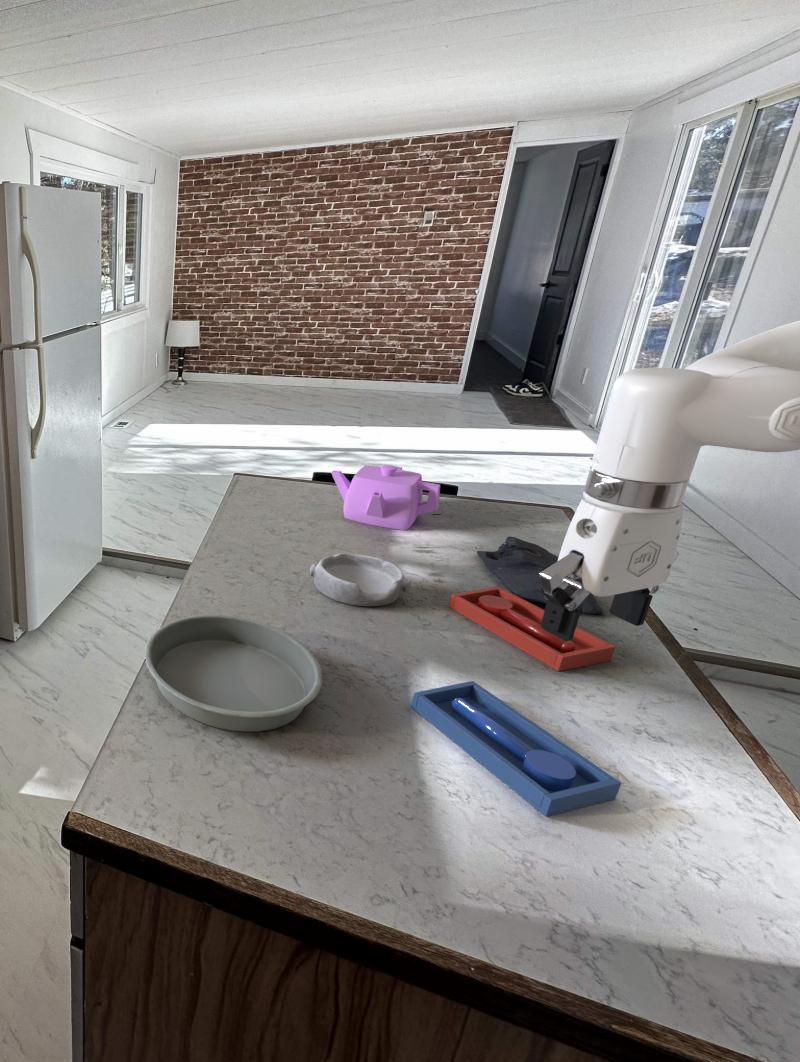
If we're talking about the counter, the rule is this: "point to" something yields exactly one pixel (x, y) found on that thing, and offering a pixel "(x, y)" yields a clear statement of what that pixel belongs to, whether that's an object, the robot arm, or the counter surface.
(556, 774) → the blue spoon
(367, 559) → the dish
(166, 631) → the cake pan
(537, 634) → the red spoon
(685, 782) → the counter surface
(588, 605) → the dark slate chunk
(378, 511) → the teakettle
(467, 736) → the blue tray
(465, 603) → the red tray
